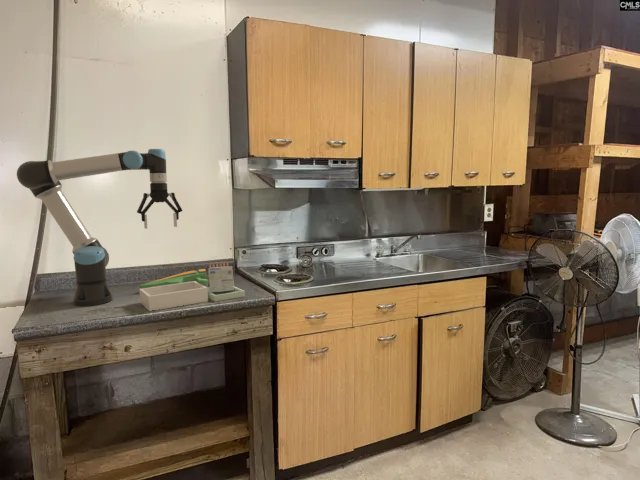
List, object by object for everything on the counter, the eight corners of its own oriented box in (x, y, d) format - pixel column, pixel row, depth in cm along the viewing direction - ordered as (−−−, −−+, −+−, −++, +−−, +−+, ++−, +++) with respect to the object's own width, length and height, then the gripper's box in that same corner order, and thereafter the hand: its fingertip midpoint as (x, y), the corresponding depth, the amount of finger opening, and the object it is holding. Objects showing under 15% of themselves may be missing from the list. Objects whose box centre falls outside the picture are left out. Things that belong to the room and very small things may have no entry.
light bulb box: (233, 290, 205) (231, 266, 206) (234, 290, 199) (233, 265, 200) (209, 292, 202) (207, 268, 203) (209, 292, 196) (208, 267, 197)
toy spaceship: (143, 295, 203) (142, 280, 202) (136, 291, 211) (135, 276, 210) (209, 284, 223) (208, 270, 222) (200, 281, 231) (200, 267, 230)
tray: (214, 301, 190) (214, 295, 189) (200, 293, 204) (200, 288, 203) (245, 296, 198) (244, 290, 197) (229, 289, 212) (229, 284, 211)
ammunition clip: (229, 285, 220) (228, 261, 219) (230, 285, 219) (229, 261, 217) (208, 288, 214) (207, 263, 213) (209, 289, 213) (208, 264, 211)
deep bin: (149, 311, 177) (148, 296, 177) (140, 302, 191) (139, 289, 190) (208, 301, 191) (207, 287, 190) (195, 293, 204) (194, 281, 203)
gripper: (131, 182, 200) (134, 229, 203) (187, 182, 213) (189, 226, 216) (128, 182, 207) (131, 228, 209) (183, 182, 220) (185, 225, 222)
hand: (160, 227), depth 213 cm, fingers open, 13 cm apart
